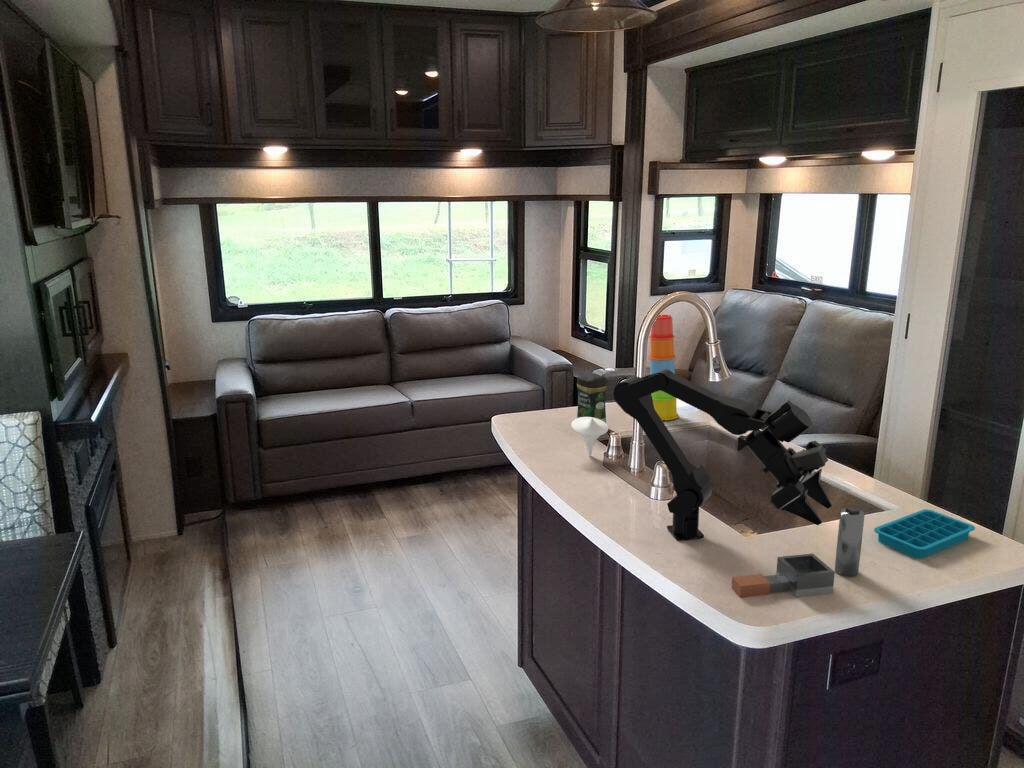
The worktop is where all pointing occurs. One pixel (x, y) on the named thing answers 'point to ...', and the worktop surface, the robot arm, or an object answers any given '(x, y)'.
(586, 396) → the coffee jar
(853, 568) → the cylinder with cube top
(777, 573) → the saucepan
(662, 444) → the robot arm
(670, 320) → the stacking cups
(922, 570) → the worktop surface
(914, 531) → the ice cube tray
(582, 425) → the white spinning top
